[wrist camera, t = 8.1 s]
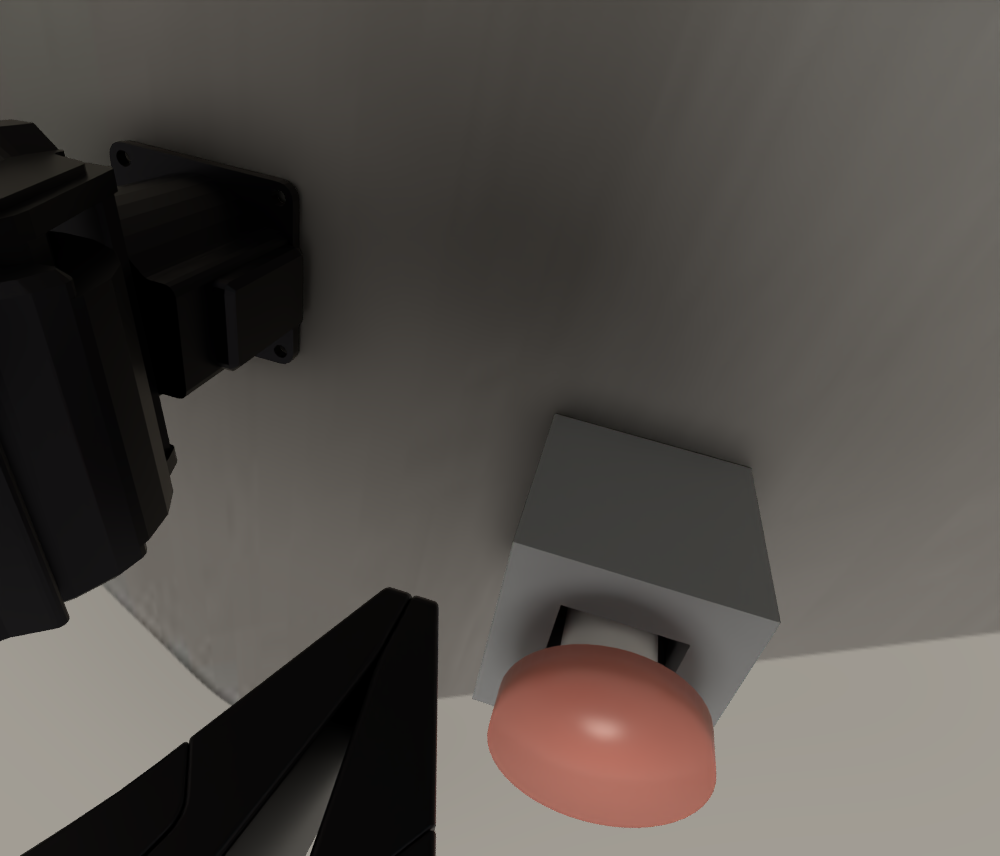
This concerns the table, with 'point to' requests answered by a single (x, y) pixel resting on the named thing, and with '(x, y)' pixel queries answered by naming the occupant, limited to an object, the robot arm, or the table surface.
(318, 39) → the table surface
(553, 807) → the red plunger
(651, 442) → the button housing
